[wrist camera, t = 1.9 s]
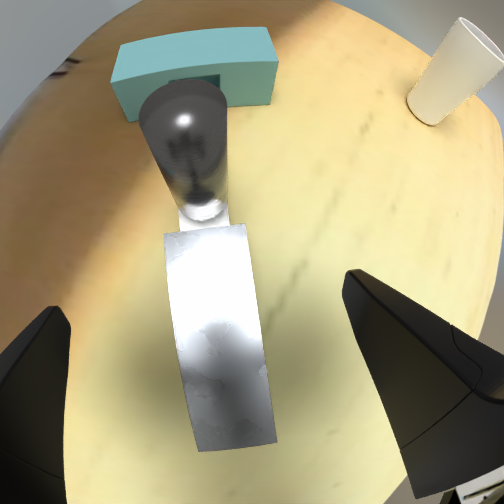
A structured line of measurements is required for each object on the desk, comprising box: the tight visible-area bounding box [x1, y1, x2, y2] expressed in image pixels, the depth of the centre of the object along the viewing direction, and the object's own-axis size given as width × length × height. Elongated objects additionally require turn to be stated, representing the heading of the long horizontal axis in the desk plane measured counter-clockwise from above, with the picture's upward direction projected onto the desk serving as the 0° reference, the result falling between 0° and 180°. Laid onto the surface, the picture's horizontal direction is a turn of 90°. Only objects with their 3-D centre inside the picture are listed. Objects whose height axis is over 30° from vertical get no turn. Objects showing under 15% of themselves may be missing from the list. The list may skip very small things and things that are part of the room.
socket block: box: [110, 27, 279, 122], centre depth 21 cm, size 6×14×6 cm, turn 98°
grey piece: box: [139, 79, 230, 232], centre depth 14 cm, size 22×3×12 cm, turn 8°
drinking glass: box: [407, 17, 504, 125], centre depth 19 cm, size 7×7×15 cm
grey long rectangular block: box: [164, 223, 277, 452], centre depth 18 cm, size 14×5×5 cm, turn 8°
